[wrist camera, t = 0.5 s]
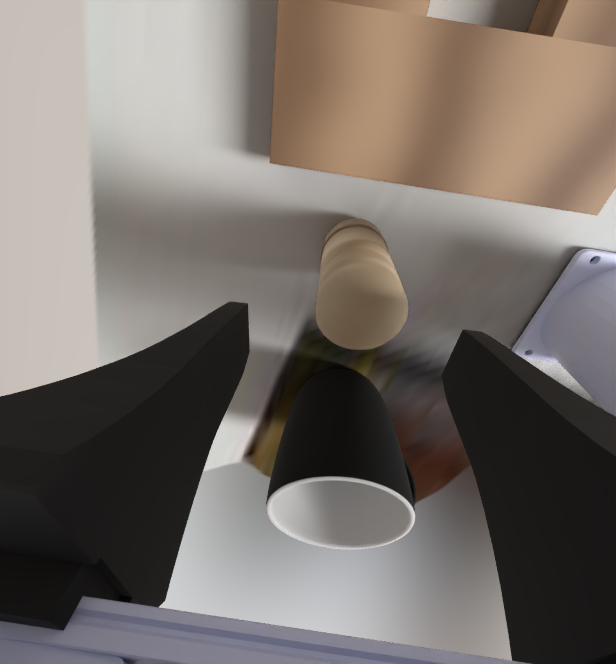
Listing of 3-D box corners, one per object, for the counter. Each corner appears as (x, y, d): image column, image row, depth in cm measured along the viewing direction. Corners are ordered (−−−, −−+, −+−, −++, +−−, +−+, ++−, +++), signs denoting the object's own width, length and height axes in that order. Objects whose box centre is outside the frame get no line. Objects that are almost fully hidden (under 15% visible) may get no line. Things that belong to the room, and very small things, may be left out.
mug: (269, 397, 27) (238, 516, 19) (330, 336, 23) (326, 455, 14) (367, 452, 30) (378, 573, 22) (437, 407, 26) (484, 538, 18)
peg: (390, 218, 18) (424, 277, 11) (374, 276, 20) (393, 357, 13) (328, 208, 18) (321, 261, 11) (318, 267, 20) (308, 343, 13)
